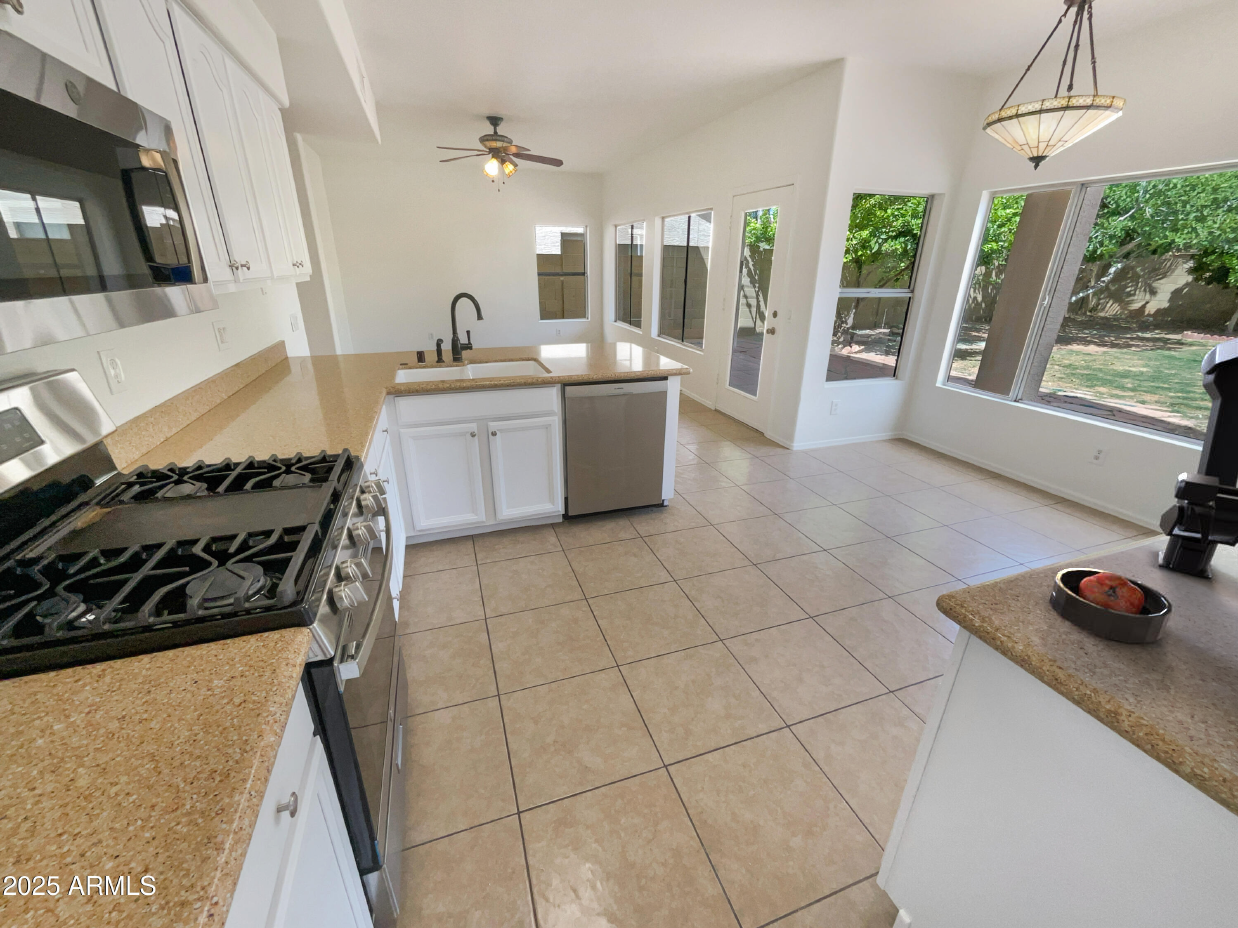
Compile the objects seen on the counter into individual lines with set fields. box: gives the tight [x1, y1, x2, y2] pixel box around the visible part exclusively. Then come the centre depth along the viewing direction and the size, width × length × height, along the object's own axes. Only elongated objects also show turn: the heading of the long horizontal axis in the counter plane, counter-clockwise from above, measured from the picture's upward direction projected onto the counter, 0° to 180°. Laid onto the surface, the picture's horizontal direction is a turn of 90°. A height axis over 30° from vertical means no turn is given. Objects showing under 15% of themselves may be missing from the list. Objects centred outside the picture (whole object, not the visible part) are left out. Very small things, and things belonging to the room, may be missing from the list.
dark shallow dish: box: [1048, 567, 1173, 644], centre depth 80 cm, size 13×13×5 cm
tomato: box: [1078, 572, 1144, 615], centre depth 80 cm, size 7×7×10 cm
